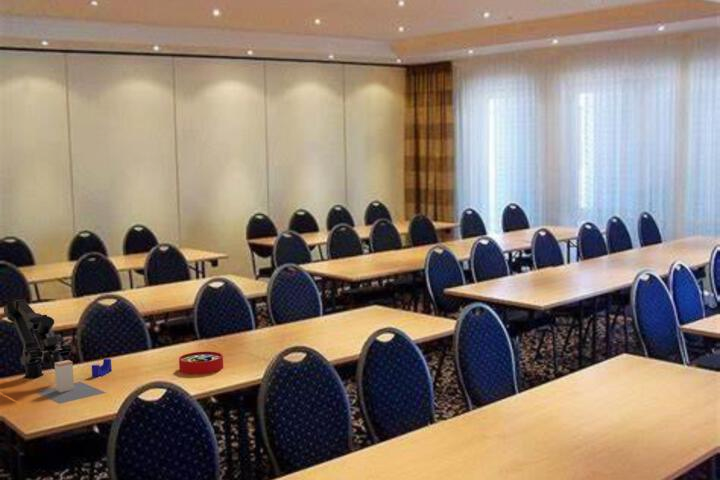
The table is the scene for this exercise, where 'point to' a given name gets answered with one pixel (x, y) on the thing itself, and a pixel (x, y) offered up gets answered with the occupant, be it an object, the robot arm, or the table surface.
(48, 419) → the table surface
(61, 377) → the cream block
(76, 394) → the rubber mat
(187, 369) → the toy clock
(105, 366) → the cable clip
